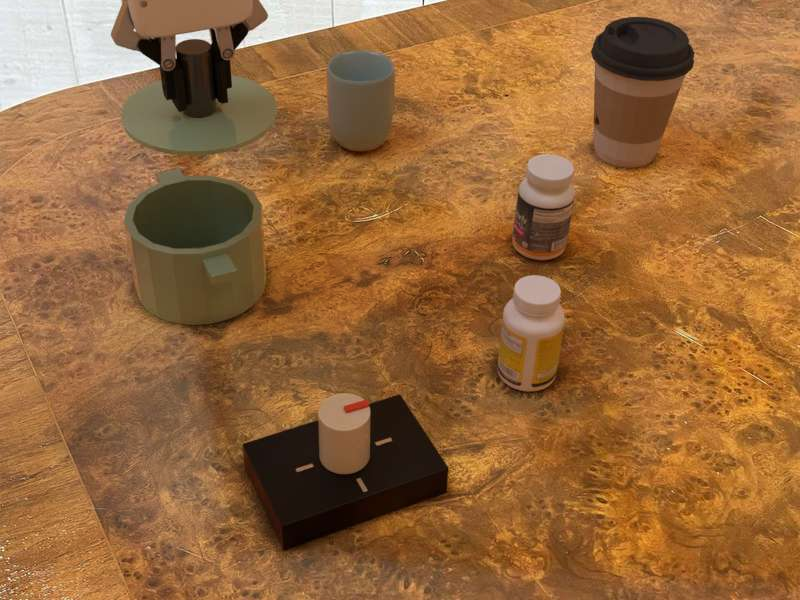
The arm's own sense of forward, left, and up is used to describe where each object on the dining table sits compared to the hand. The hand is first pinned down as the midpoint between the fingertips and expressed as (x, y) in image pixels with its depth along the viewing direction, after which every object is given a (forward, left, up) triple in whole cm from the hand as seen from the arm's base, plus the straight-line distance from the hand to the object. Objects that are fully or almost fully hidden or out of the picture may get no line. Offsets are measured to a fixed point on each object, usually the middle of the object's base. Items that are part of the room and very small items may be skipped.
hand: (198, 98), depth 93 cm
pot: (-2, 0, -20) cm, 20 cm away
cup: (+23, +18, -20) cm, 36 cm away
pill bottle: (+32, -8, -20) cm, 39 cm away
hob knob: (+1, -29, -17) cm, 34 cm away
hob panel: (+1, -29, -20) cm, 35 cm away
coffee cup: (+51, +4, -20) cm, 56 cm away
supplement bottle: (+21, -24, -20) cm, 38 cm away
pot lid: (0, 0, -2) cm, 2 cm away
